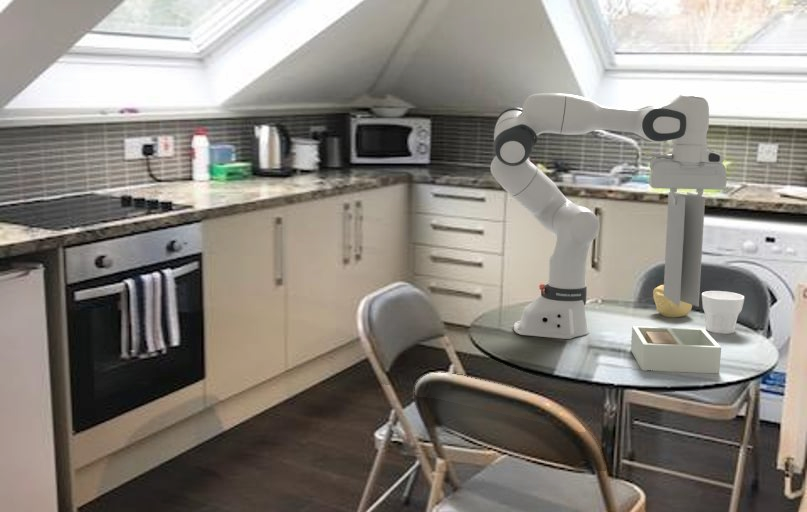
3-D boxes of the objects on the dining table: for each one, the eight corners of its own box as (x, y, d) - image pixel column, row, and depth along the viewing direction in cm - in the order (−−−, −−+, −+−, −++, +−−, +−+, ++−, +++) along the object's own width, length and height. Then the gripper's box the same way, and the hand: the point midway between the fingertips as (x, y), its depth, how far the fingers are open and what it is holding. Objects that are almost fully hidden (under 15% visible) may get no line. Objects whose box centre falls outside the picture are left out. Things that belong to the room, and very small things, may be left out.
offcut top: (652, 355, 229) (653, 342, 228) (645, 343, 240) (646, 331, 239) (675, 356, 229) (676, 343, 228) (667, 344, 239) (668, 332, 239)
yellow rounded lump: (646, 312, 288) (648, 280, 286) (678, 310, 291) (680, 278, 289) (665, 320, 277) (667, 287, 275) (698, 318, 280) (700, 286, 278)
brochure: (698, 306, 237) (705, 197, 232) (678, 306, 237) (684, 197, 232) (682, 295, 251) (688, 192, 246) (663, 295, 251) (668, 192, 246)
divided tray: (642, 370, 226) (643, 344, 225) (630, 350, 244) (632, 326, 243) (719, 373, 224) (721, 347, 223) (702, 352, 242) (704, 328, 241)
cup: (703, 322, 275) (706, 289, 273) (744, 328, 269) (747, 293, 267) (694, 331, 264) (697, 296, 262) (737, 337, 258) (740, 301, 256)
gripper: (652, 154, 235) (649, 205, 237) (730, 156, 233) (726, 207, 235) (648, 153, 241) (645, 202, 243) (724, 154, 239) (719, 204, 241)
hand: (685, 205), depth 239 cm, fingers closed on brochure, 3 cm apart
